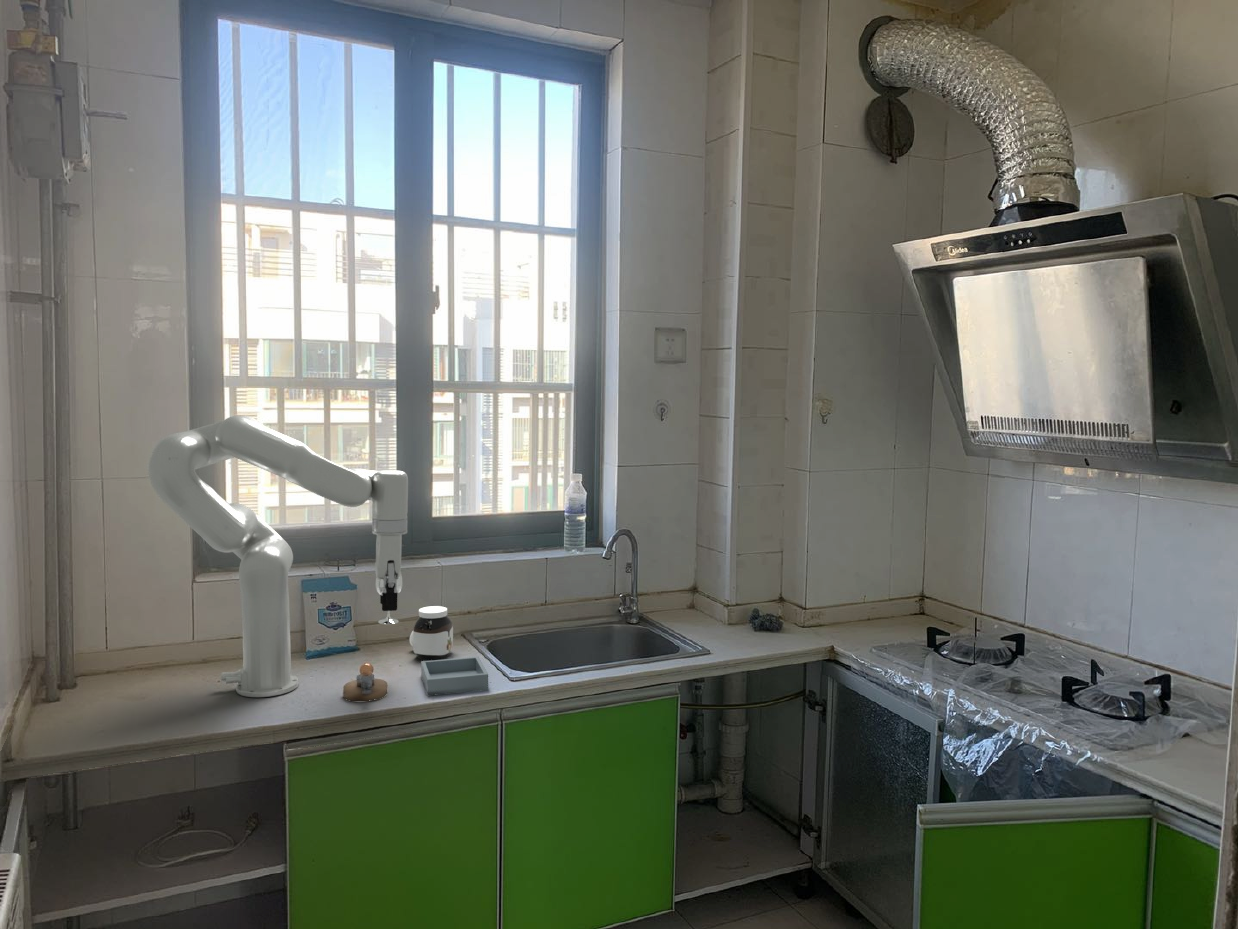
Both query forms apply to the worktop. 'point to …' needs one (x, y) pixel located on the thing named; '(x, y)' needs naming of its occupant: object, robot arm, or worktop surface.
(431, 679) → the tray
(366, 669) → the crank
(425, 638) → the spread jar
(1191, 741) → the worktop surface
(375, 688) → the crank base
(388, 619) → the wineglass
